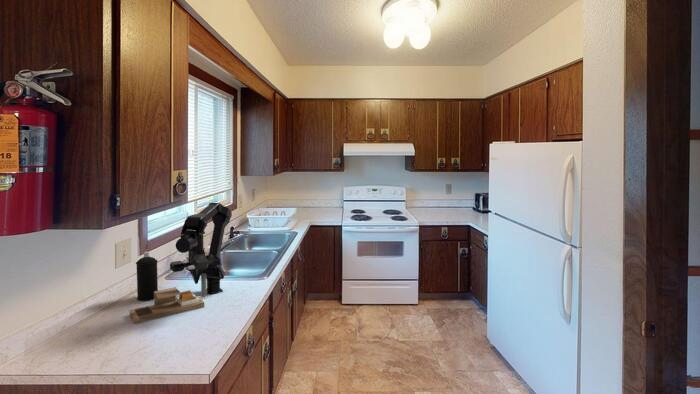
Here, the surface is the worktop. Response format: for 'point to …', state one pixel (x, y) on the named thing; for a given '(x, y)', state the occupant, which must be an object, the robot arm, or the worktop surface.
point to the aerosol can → (146, 277)
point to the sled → (196, 299)
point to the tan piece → (162, 306)
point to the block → (186, 296)
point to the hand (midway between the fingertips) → (196, 283)
